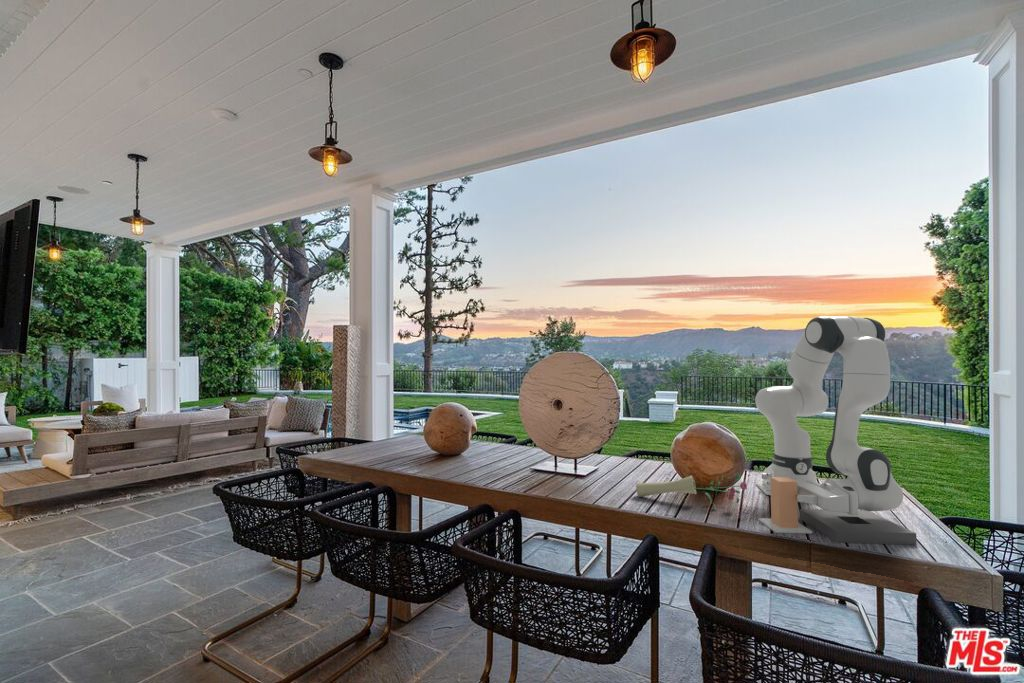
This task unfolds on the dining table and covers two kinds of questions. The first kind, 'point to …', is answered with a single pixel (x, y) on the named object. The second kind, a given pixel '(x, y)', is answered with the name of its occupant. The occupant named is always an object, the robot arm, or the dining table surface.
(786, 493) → the peg
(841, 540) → the holder
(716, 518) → the dining table surface
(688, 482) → the flower vase
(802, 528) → the mat
